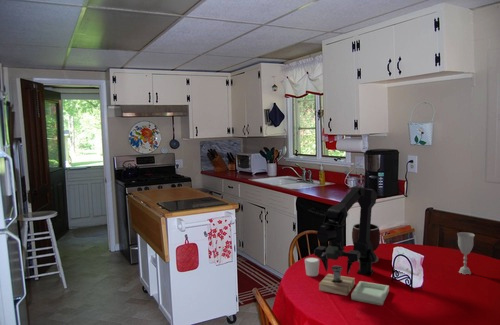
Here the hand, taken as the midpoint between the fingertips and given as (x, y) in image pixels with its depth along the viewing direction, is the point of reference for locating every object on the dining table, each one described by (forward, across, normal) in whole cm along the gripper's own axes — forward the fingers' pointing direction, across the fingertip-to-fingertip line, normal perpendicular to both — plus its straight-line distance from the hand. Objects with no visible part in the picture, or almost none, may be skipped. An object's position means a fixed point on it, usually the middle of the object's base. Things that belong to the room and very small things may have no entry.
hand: (337, 272), depth 170 cm
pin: (+7, 0, 0) cm, 7 cm away
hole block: (+7, 0, 0) cm, 7 cm away
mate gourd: (+7, +3, +41) cm, 42 cm away
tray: (+7, +14, -2) cm, 16 cm away
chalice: (+7, +48, +40) cm, 63 cm away
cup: (+7, -15, +10) cm, 19 cm away
